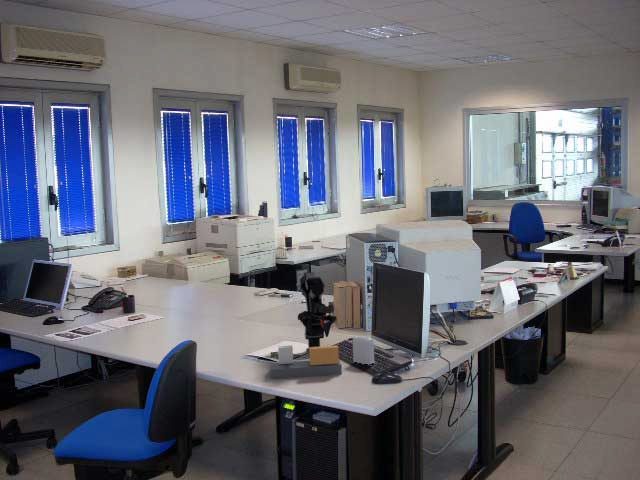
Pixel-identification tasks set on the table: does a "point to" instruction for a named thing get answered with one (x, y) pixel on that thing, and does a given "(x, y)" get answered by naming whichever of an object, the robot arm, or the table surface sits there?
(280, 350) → the white slider
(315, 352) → the orange slider
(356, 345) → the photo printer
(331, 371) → the switch box
